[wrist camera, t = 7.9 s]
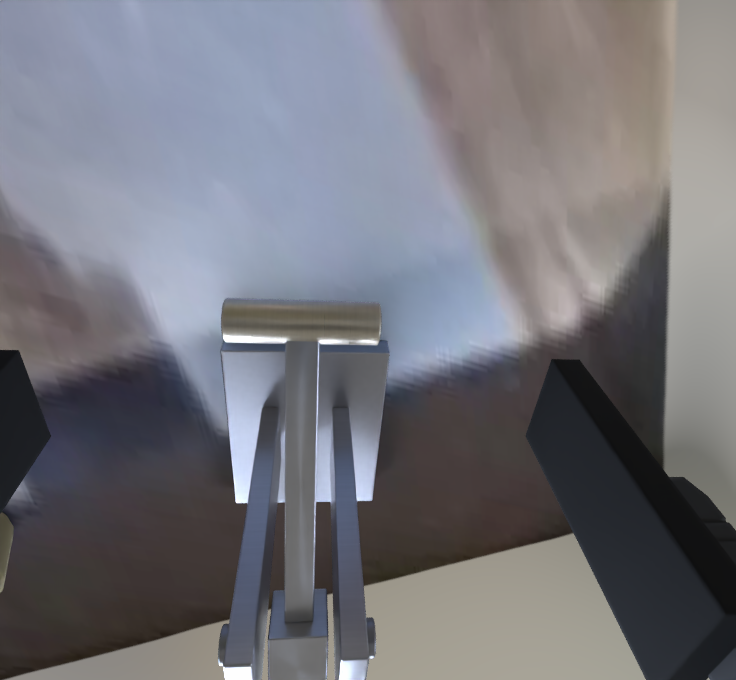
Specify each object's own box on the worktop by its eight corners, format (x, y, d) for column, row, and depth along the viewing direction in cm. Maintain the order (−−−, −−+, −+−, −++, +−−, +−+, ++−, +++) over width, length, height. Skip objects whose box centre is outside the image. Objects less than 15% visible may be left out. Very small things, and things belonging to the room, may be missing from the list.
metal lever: (230, 291, 17) (217, 305, 14) (375, 296, 17) (384, 310, 15) (239, 646, 21) (230, 701, 18) (357, 640, 21) (362, 693, 19)
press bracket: (224, 337, 27) (140, 606, 14) (387, 340, 28) (442, 594, 15) (238, 487, 33) (189, 765, 21) (370, 486, 34) (400, 749, 22)
